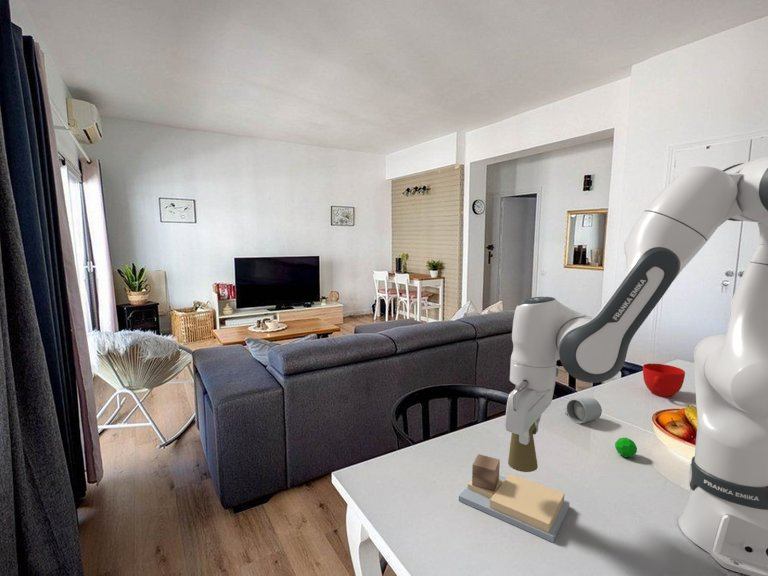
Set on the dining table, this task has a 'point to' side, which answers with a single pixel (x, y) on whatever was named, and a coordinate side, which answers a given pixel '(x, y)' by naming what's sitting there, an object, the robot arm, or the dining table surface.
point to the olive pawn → (523, 453)
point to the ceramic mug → (583, 410)
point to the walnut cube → (485, 472)
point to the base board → (521, 504)
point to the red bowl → (663, 379)
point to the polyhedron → (626, 447)
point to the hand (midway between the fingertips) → (528, 437)
